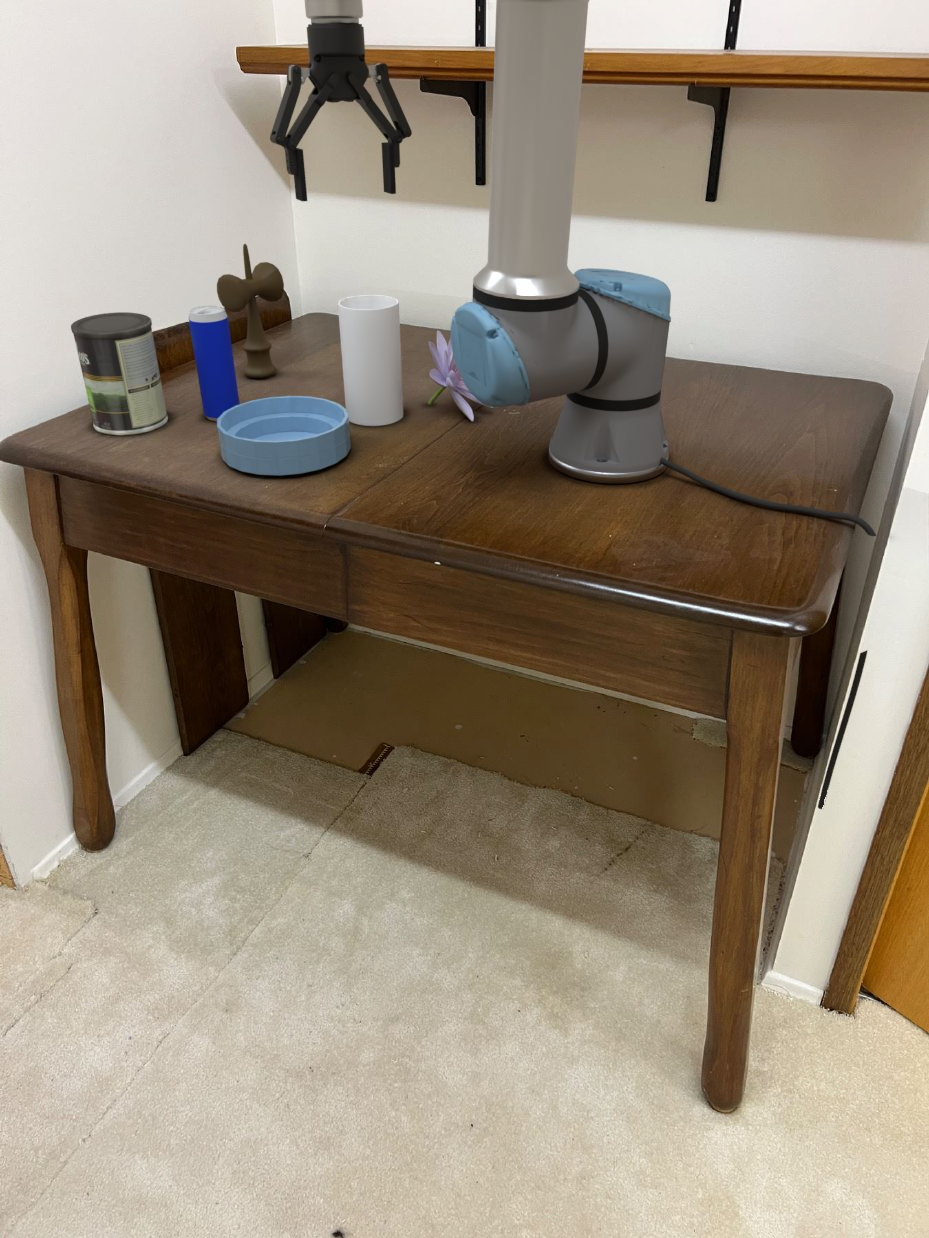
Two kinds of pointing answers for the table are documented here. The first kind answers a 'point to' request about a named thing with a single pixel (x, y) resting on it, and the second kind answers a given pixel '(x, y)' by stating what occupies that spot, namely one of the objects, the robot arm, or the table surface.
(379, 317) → the cup
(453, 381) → the water lily
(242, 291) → the kendama
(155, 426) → the coffee can
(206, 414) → the beverage can
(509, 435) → the table surface
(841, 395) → the table surface
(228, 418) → the bowl
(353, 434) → the table surface
